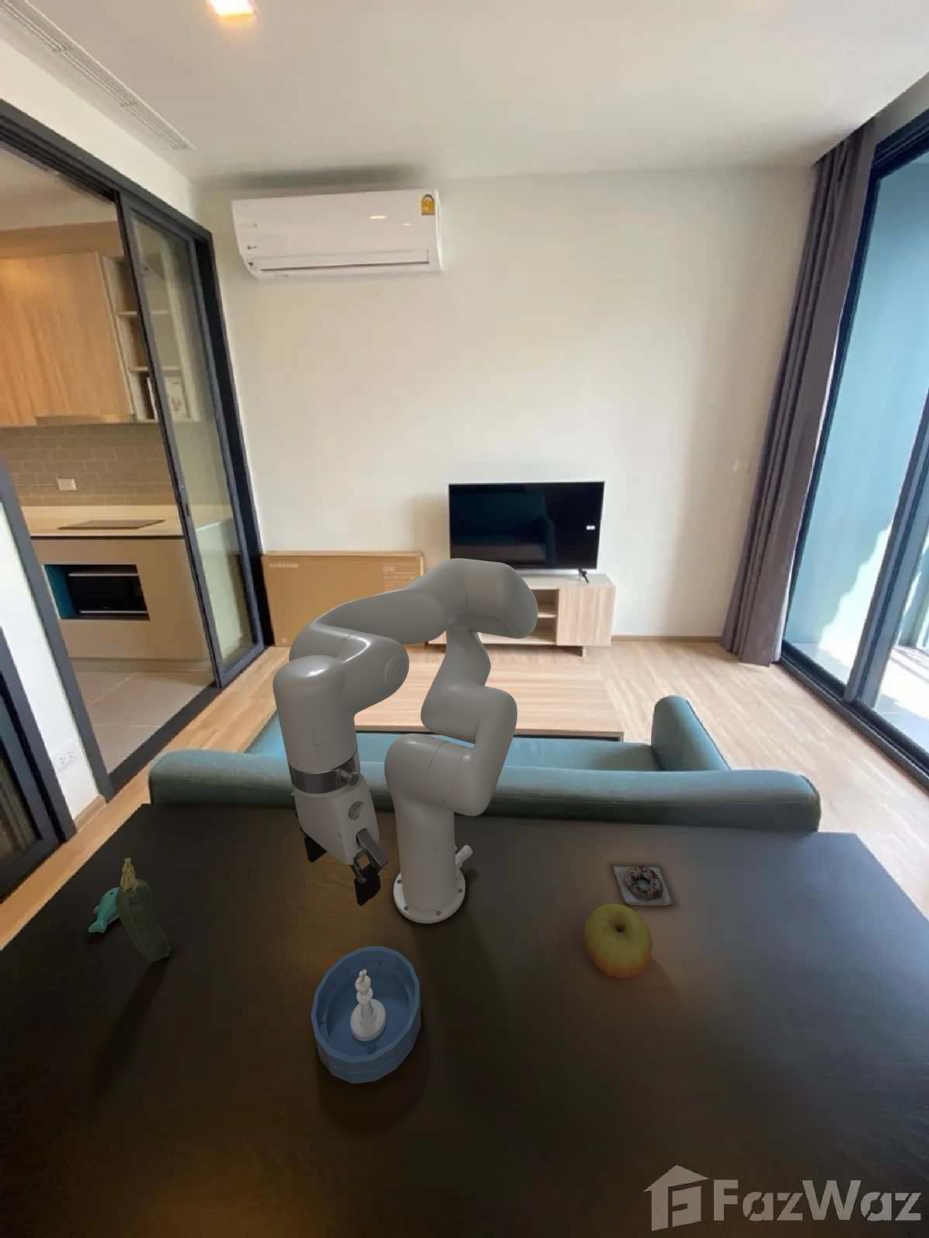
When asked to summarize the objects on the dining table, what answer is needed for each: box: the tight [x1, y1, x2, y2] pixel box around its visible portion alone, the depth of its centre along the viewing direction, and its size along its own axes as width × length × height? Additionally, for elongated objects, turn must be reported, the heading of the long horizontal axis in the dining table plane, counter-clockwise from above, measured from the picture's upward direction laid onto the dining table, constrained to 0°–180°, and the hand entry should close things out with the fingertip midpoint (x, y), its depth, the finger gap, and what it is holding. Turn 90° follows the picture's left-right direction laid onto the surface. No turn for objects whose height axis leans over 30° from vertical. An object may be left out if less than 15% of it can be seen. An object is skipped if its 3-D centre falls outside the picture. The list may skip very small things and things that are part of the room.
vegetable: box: [115, 857, 171, 963], centre depth 73 cm, size 4×4×20 cm
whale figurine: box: [87, 886, 121, 933], centre depth 84 cm, size 6×7×4 cm
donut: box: [612, 863, 673, 907], centre depth 87 cm, size 8×8×2 cm
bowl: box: [310, 945, 422, 1084], centre depth 68 cm, size 14×14×5 cm
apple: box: [583, 902, 653, 980], centre depth 75 cm, size 10×10×8 cm
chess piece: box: [350, 970, 386, 1041], centre depth 67 cm, size 5×5×10 cm
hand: (343, 874), depth 62 cm, fingers open, 9 cm apart
